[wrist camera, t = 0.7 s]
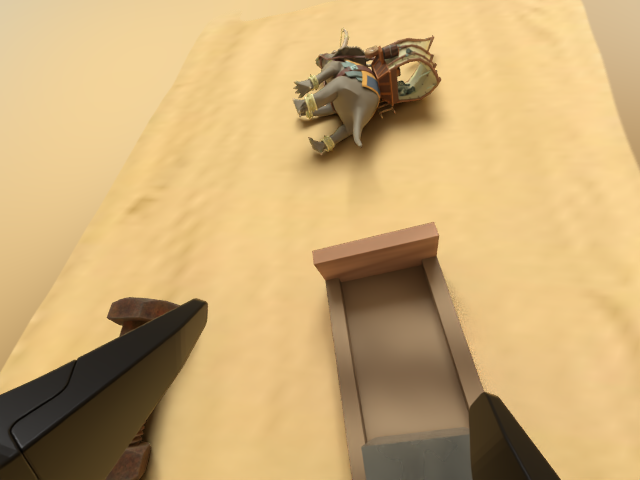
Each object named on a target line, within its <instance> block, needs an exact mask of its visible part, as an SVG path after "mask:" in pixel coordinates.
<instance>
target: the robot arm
mask: <svg viewBox="0 0 640 480" xmlns="http://www.w3.org/2000/svg"><path fill="white" fill-rule="evenodd" d="M207 315H208V303H207V302H206V301H203V300H200V299H192V300H190V301H188V302H187V303H185V304H183V305H181V306H179V307H177V308H175V309H173V310H171V311H169V312H167V313H165V314H163V315H161V316H159V317H157V318H155V319H153V320H151V321H149V322H147V323H145V324H144V325H142V326H140V327H138V328H136V329H134V330H132V331H130V332H128V333H126V334H124V335H122V336H120V337H118V338H116V339H114V340H112V341H110V342H108V343H106V344H104V345H102V346H101V347H99V348H97V349H95V350H93V351H91V352H89V353H87V354H85V355H83V356H81V357H79V358H78V359H77V360H73V361H71V362H69V363H67V364H65V365H63V366H61V367H59V368H57V369H55V370H53V371H51V372H49V373H47V374H45V375H43V376H41V377H39V378H37V379H35V380H32V381H30V382H28V383H26V384H24V385H21V386H19V387H17V388H15V389H12V390H10V391H8V392H6V393H3V394H1V395H0V480H105V479H106V477H107V476H108V474H109V473H110V471H111V470H112V469H113V467H114V466H115V464H116V463H117V461H118V460H119V458H120V457H121V456H122V454H123V453H124V451H125V450H126V448H127V447H128V446H129V444H130V443H131V441H132V440H133V438H134V437H135V435H136V434H137V433H138V431H139V430H140V428H141V427H142V425H143V424H144V422H145V421H146V420H147V418H148V417H149V415H150V414H151V412H152V411H153V409H154V408H155V407H156V405H157V404H158V402H159V401H160V399H161V398H162V397H163V395H164V394H165V392H166V391H167V389H168V388H169V386H170V385H171V384H172V382H173V381H174V379H175V378H176V376H177V375H178V373H179V372H180V370H181V369H182V367H183V365H184V364H185V362H186V360H187V358H188V357H189V355H190V353H191V351H192V349H193V347H194V346H195V344H196V342H197V340H198V338H199V336H200V335H201V333H202V331H203V329H204V327H205V325H206V323H207ZM469 435H470V461H471V472H472V480H561V479H560V478H559V476H558V475H557V474H556V472H555V471H554V470H553V468H552V467H551V466H550V464H549V463H548V462H547V460H546V459H545V458H544V456H543V455H542V454H541V452H540V451H539V450H538V448H537V447H536V446H535V444H534V443H533V442H532V440H531V439H530V438H529V437H528V435H527V434H526V433H525V431H524V430H523V429H522V427H521V426H520V425H519V423H518V422H517V421H516V419H515V418H514V417H513V415H512V414H511V413H510V411H509V410H508V409H507V407H506V406H505V405H504V403H503V402H502V401H501V399H500V398H499V397H498V396H496V395H493V394H490V393H487V392H483V393H481V394H480V395H479V396H478V398H477V399H476V400H475V401H474V402H473V403H472V405H471V406H470V409H469Z"/></svg>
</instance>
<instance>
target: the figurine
mask: <svg viewBox="0 0 640 480" xmlns="http://www.w3.org/2000/svg"><path fill="white" fill-rule="evenodd" d="M342 29H343V30H344V31H342V30H341V31H342V32H345V38H344V42H343V45H342V47H341V44H340V47H341V48H340V49H338V51H335V50H334V51H333V52H332V53H331V54H327V53H326V54H320V55H319V56H318V58H317V59H316V64H317V66H319V67H320V68H321V69H322V70H321V73H319V74H318V75H316V76H314V75H313V76H312V75H311V74H310V77H308V80H305V81H301V82H298V81H295V82H294V83H295V84H296V85H297V86H296V87H294V88H293V89H298V90H297V91H296V92H295V93H301V94H300V96H299V98H302V97H303V96H304V95H305V94H306V93H308V92H309V91H311V90H312V91H313V90H314V89H316V90H317V88H318V87H319V84H320V83H322V82H324V87H323V88H322V89H321V90H319V91H318V92H317V93H315V94H312V93H311V95H309V94H308V95H307V97H305V96H304V99H305V100H297V99H293V101H294V104H295V107H296V109H297V112H298V114H299V117H301V116H304V115H306V117H308V118H309V119H310V118H311V117H312V118H313V116H328V115H332V114H335V113H337V114H338V115H339V116H340V119H341V120H342V122H343V123H344V124H343V125H342V126H340V127H339V128H338V129H337V130H336V132H335V133H334V134H333V135H331V136H330V137H329V136H327V137H326V136H325V135H324V139H321V142H318V141H314V140H313V139H312V138H310V137H308V138H309V140H310V143H311V145H312V148H313V149H314V150H316V151H318V152H320V154H321V155H322V152H323V151H324V149H325V150H326V151H329V150H331V151H332V148H334V147H335V144H337V143H338V142H340V141H342V140H343V139H345V138H347V137H348V136H350V135H352V134H353V136H354V141H355V144H357V145H358V146H359V147H360V148H361V147H362V143H361V141H360V138H361V133H362V129H363V127H364V126H365V125H366V124H367V123H368V122H369V120H370V119H371V118H372V117H373V115H374V113H375V111H376V109H377V108H378V111H379V113H380V115H381V118H382V119H383V117H382V114H381V113H383V112H386V111H389V110H392V109H393V111H394V113H395V114H396V112H395V110H394V108H393V106H394V103H399V102H408V101H410V102H411V101H416V100H421V99H423V98H424V97H426V96H427V95H429V94H430V93H431V92H432V91H433V90H434V89H435V88H436V87H437V86H438V84H439V83H440V81H441V78H440V77H438V74H437V70H435V67H436V65H437V64H436V63H433V62H432V59H433V54H430V53H429V52H428V51H429V49H430V46H431V44H432V42H433V39H434V37H433V35H432V37H430V38H426V39H412V38H406V39H402V40H398V41H396V42H394V43H392V44H390V45H387V46H385V47H383V48H381V47H380V46H379V47H377V46H374V47H372V48H368V49H366V52H364V51H363V50H362V49H361V48H360V47H358V48H357V46H356V47H352V48H351V47H349V46H347V44H348V40H349V36H348V32H347V31H346V30H345V29H344V28H342ZM342 32H341V39H340V43H341V40H342ZM374 56H375V57H374ZM369 60H373V62H372V64H367V65H366V62H367V61H369ZM413 61H418V62H420V64H419V65H418V67H417V69H416V71H415V73H414V74H413V75H412V77H411V78H410V79H409V81H407V82H406V83H404V82H403V81H398V82H399V83H400V84H401V85H400V84H399V83H398V82H397V77H398V76H400V68H399V67H400V66H402V65H404V64H406V63H409V62H413ZM368 67H372V71H371V69H370V68H368ZM380 99H383V100H380ZM383 101H386V102H388V103H387V104H384V105H381V106H378V105H379V103H380V102H383ZM389 104H390V105H391V107H392V108H389V109H386V110H384V111H381V112H380V110H379V108H380V107H383V106H386V105H389ZM324 105H326V106H324Z"/></svg>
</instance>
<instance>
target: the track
mask: <svg viewBox="0 0 640 480" xmlns="http://www.w3.org/2000/svg"><path fill="white" fill-rule="evenodd" d="M438 240H439V234H438V231H437V228H436V226H435V223H434V222H431V223H427V224H423V225H419V226H415V227H410V228H406V229H402V230H398V231H394V232H389V233H385V234H381V235H377V236H373V237H369V238H364V239H360V240H356V241H352V242H348V243H343V244H339V245H335V246H331V247H327V248H322V249H318V250H314V251H312V253H313V261H314V265H315V267H316V268H317V269H318V271H319V272H320V273H321V275H322V276H323V278H324V279H325V280H326V288H327V295H328V303H329V310H330V318H331V325H332V333H333V340H334V348H335V355H336V362H337V370H338V377H339V385H340V392H341V400H342V407H343V415H344V422H345V430H346V437H347V444H348V452H349V459H350V467H351V474H352V480H366V475H365V469H364V462H363V456H362V449H361V447H362V446H363V445H365V444H366V443H367V442H369V441H370V440H372V439H373V438H376V437H384V436H393V435H401V434H409V433H418V432H426V431H434V430H443V429H451V428H459V427H465V428H468V429H469V409H470V406H471V405H472V403H473V402H474V401H475V400H476V399H477V398H478V396H479V395H480V394H481V393H483V392H484V390H483V387H482V384H481V382H480V379H479V376H478V373H477V370H476V367H475V364H474V362H473V359H472V356H471V353H470V350H469V347H468V344H467V342H466V339H465V336H464V333H463V330H462V327H461V324H460V322H459V319H458V316H457V313H456V310H455V307H454V305H453V302H452V299H451V296H450V293H449V290H448V287H447V285H446V282H445V279H444V276H443V273H442V270H441V267H440V265H439V262H438V259H437V248H438Z"/></svg>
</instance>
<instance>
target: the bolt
mask: <svg viewBox="0 0 640 480" xmlns="http://www.w3.org/2000/svg"><path fill="white" fill-rule="evenodd" d="M179 306H180V305H177V304H174V303H171V302H168V301H163V300H155V299H148V298H134V297H129V298H124V299H120V300H118V301H116V302H114V303H112V305H111V307H110V310H109V313H108V316H107V318H108V319H109V320H111V321H113V322H115V323H117V324H118V325H122V326H123V327H122V330H121V333H120V336H122V335H124V334H126V333H128V332H130V331H132V330H134V329H136V328H138V327H140V326H142V325H144V324H145V323H147V322H149V321H151V320H153V319H155V318H157V317H159V316H161V315H163V314H165V313H167V312H169V311H171V310H173V309H175V308H177V307H179ZM120 336H119V337H120ZM145 423H146V421H145V422H144V424H145ZM144 424H143V425H144ZM143 425H142V427H141V428H140V430H139V431H138V433H137V434H136V435H135V437H134V438H133V440H132V441H131V443H130V444H129V446H128V447H127V448H126V450H125V451H124V453H123V454H122V456H121V457H120V458H119V460H118V461H117V463H116V464H115V466H114V467H113V469H112V470H111V471H110V473H109V474H108V476H107V477H106V479H105V480H138V479H140V478H141V477H142V475H143V474H144V472H145V470H146V468H147V463H148V459H149V455H150V451H151V446H150V444H149V443H148V442H143V441H141V440H142V438H141V437H140V436H141V435H143V434H144V433H143V432H142V430H143V429H144V428H145V427H144V426H143Z"/></svg>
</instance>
